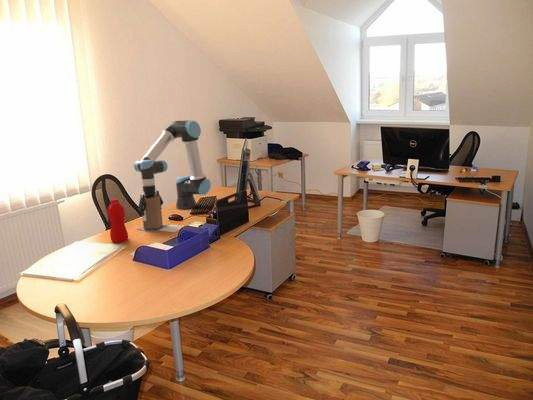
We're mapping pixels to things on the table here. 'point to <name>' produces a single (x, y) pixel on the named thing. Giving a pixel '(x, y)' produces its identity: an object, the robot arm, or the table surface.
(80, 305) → the table surface
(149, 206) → the block
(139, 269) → the table surface
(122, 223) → the water bottle
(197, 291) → the table surface
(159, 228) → the tile
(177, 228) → the mat
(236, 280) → the table surface
